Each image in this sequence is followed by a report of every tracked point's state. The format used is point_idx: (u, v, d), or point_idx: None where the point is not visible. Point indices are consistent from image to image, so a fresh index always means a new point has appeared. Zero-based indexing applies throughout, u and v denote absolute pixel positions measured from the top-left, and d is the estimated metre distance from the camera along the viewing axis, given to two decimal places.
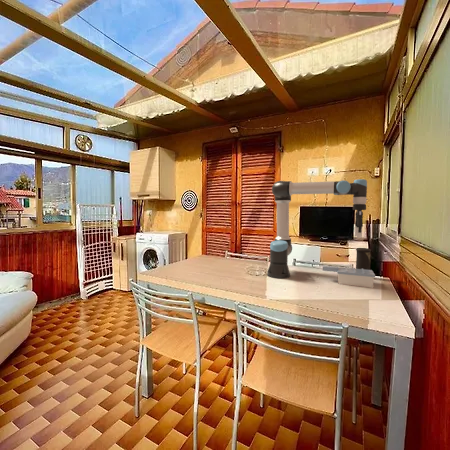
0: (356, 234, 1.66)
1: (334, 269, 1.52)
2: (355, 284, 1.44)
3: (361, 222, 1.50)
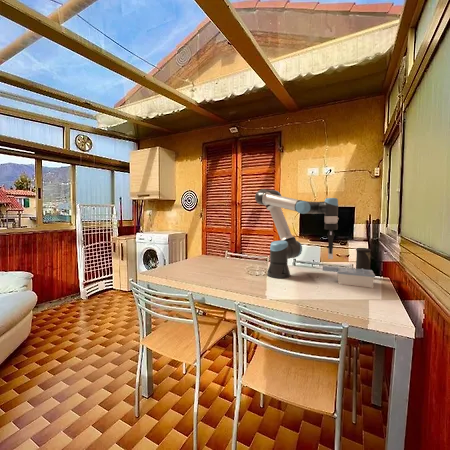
0: None
1: (334, 269, 1.52)
2: (355, 284, 1.44)
3: (331, 243, 1.45)
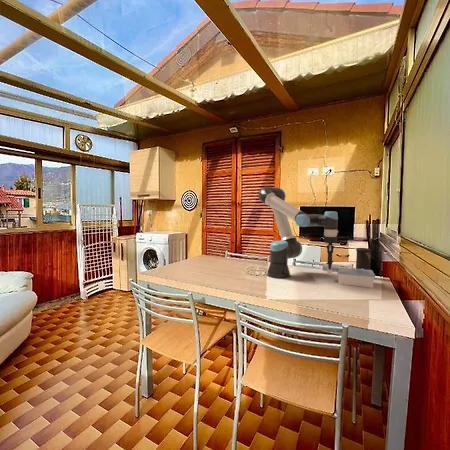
0: None
1: (334, 269, 1.52)
2: (355, 284, 1.44)
3: (330, 259, 1.49)
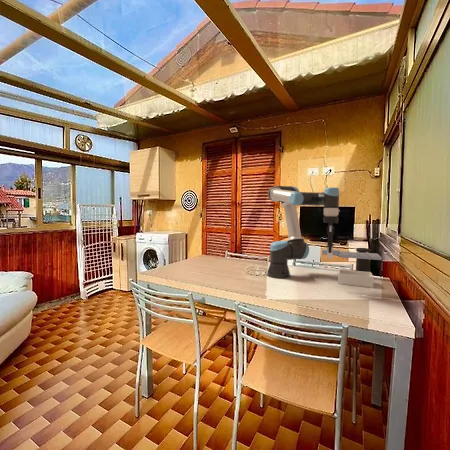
0: None
1: (335, 253, 1.34)
2: (355, 284, 1.44)
3: (331, 241, 1.31)
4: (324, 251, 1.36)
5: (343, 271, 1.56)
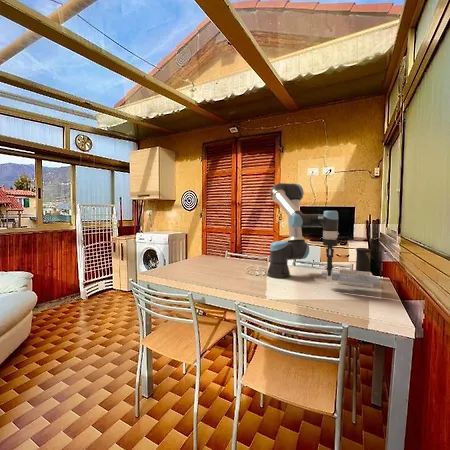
0: None
1: (334, 276, 1.35)
2: (355, 284, 1.44)
3: (330, 265, 1.32)
4: (324, 274, 1.37)
5: (343, 271, 1.56)
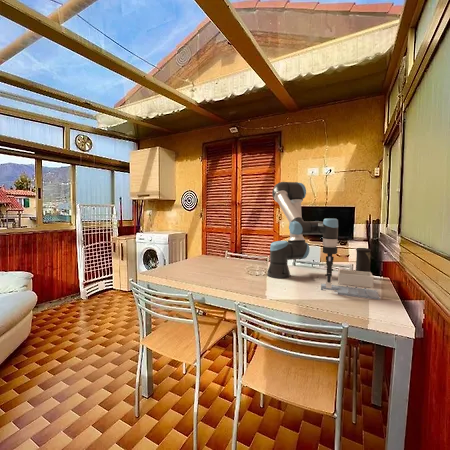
0: None
1: (333, 289, 1.36)
2: (355, 284, 1.44)
3: (330, 271, 1.30)
4: (323, 286, 1.38)
5: (343, 271, 1.56)
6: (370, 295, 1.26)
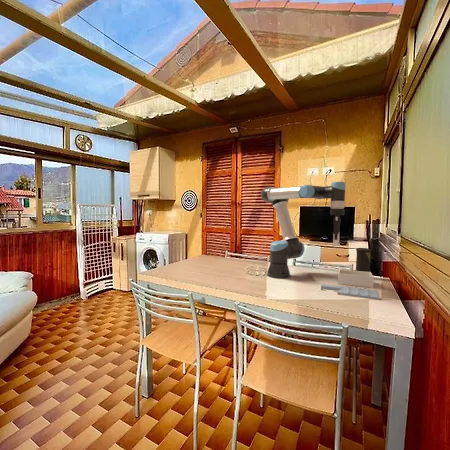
0: None
1: (333, 289, 1.36)
2: (355, 284, 1.44)
3: (337, 228, 1.38)
4: (323, 286, 1.38)
5: (343, 271, 1.56)
6: (370, 295, 1.26)
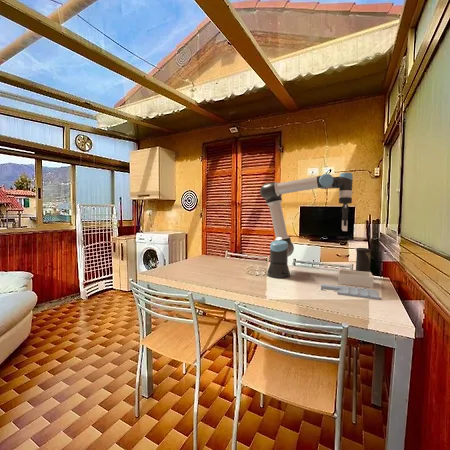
0: (343, 228, 1.66)
1: (333, 289, 1.36)
2: (355, 284, 1.44)
3: (346, 215, 1.51)
4: (323, 286, 1.38)
5: (343, 271, 1.56)
6: (370, 295, 1.26)
